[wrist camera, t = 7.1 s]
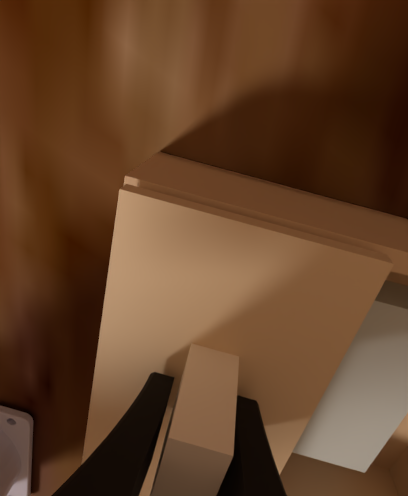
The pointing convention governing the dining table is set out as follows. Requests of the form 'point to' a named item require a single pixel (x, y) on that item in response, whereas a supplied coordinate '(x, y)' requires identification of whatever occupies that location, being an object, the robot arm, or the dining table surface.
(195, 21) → the dining table surface
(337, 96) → the dining table surface
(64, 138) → the dining table surface
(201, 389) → the flap
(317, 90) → the dining table surface
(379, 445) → the carton
